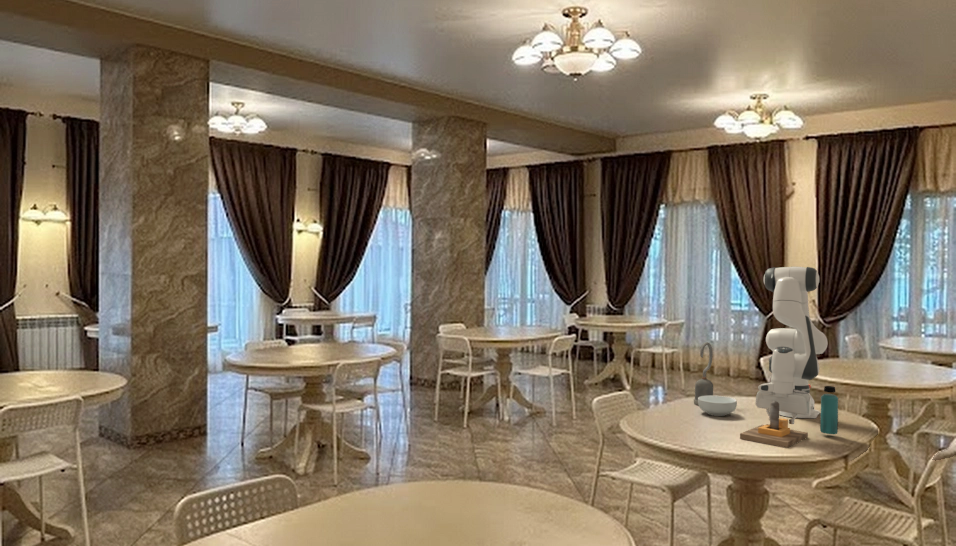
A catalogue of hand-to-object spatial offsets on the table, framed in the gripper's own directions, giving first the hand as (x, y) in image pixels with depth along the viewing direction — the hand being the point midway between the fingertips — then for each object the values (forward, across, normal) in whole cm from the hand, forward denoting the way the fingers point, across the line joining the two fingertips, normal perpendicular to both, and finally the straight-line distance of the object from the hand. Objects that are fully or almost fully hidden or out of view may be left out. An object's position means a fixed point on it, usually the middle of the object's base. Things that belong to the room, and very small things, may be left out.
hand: (781, 422), depth 288 cm
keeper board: (+5, 0, +8) cm, 9 cm away
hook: (+5, +49, -34) cm, 60 cm away
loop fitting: (+3, 0, +5) cm, 5 cm away
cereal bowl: (+5, +35, -18) cm, 40 cm away
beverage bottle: (+5, -14, -12) cm, 20 cm away
